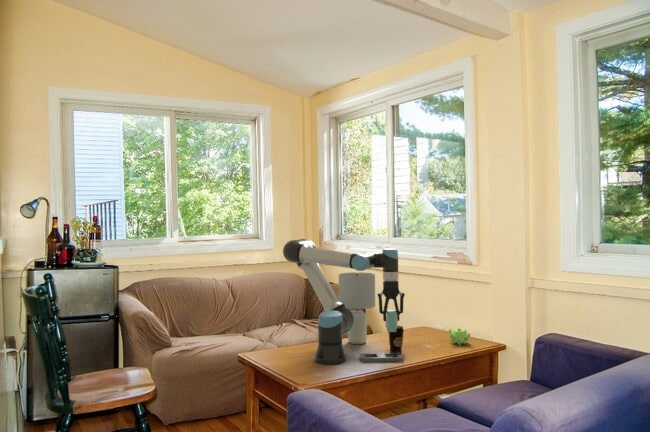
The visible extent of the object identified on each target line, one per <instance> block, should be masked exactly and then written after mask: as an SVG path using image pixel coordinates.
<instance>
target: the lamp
mask: <svg viewBox="0 0 650 432" xmlns="http://www.w3.org/2000/svg"><path fill="white" fill-rule="evenodd" d="M338 300H339V302H342V303H344V305H345V307H346V308H347V309H349V310H350V311H351V312H352V313H353V314H354V318H355V322H354V325H353V327H352V328H351V329H350V330H349V331H348V332H347V340H348V341H347V342H349V344H351V345H363V344H365V343H366V342H367V338H368V335H367V331H368V330H367V328H368V327H367V322H368V321H367V314H366V312H364V310H363V309H365V310H366V309H371V308H375V307H376V273H372V272H363V271H355V272H351V271H350V272H341V273H339V274H338Z"/></svg>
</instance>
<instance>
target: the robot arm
mask: <svg viewBox="0 0 650 432" xmlns="http://www.w3.org/2000/svg"><path fill="white" fill-rule="evenodd" d="M282 254H283V257H284V259H286V261H287V262H289V263H296V266H297V267H298V268H299V269H300V270H303V272H304V274H305V276H306V277H307V279H308V282H309V283H310V285H311V286H312V289H313V291H314V293H315V294H316V296H317V298H318V300H319V301H320V303H321V305H322V307H323V309H324V311H322V312H321V313H319V314H318V319H317V324H318V325H317V327H318V329H317V330H318V335H317V337H318V339H317V340H318V344H317V345H318V346H317V348H316V353H315V354H314V355H315V356H314V361H315V363H318V364H320V365H329V366H330V365H333V366H334V365H340V364H344V363H345V362H346V361H347V355H346V351H345V349H344V346H343V335H344V334H346V333H348V331H349V330H350V329H351V328H352V327H353V325H354V322H355V318H354V314H353V313H352V312H351V309H348V308H346V307H345V305H344V303H342V302H339V297H337V295H336V293H335V291H334V289H333V288H332V286H331V284H330V282H329V280H328V279H327V277H326V275H325V273H324V271H323V270H322V267H321V266H320V265H327V266H334V267H338V268H339V267H341V268H347V269H354V270H355V271H356V272H363V271H365V270H369V269H372V268H373V269H374V268H375V269H376V268H378V269H382V279H383V280H382V281H383V282H382V286H383V289H382V291H380V292H377V293H376V295H377V297H378V306H379V308H378V311H379V313H380V314H382V316H383V317H382V318H383V319H382V320H383V321H384V322H385V328H386V329H387V328H388V315H387V310H388V306H389V302H390V300H393V305H394V310H395V311H396V328H398V327H397V326H398V322H400V315H401V314H403V313H404V297H405V295H406V293H404V292H403V291H402V292H401V290H400V287H399V251H398V250H397V248H383V249H382V252H369V251H365V252H361V253H357V252H347V251H341V250H334V249H326V248H325V249H324V248H319V247H316V245H315V243H314V242H313V241H312V240H310V239H306V238H300V239H292V240H289V241H287V242H286V243H285V245H283V249H282ZM383 296H384V297H385V300H384V306H383V300H382V299H383V298H382V297H383ZM398 296H399V303H398V299H397V297H398Z"/></svg>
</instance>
